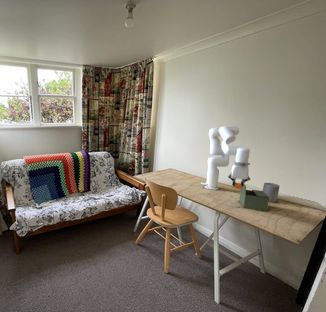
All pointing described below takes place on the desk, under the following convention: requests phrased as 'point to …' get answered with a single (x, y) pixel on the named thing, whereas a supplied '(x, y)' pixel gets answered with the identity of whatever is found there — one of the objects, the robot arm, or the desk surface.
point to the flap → (244, 188)
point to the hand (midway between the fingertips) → (237, 186)
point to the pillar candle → (271, 191)
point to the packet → (238, 186)
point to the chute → (254, 200)
